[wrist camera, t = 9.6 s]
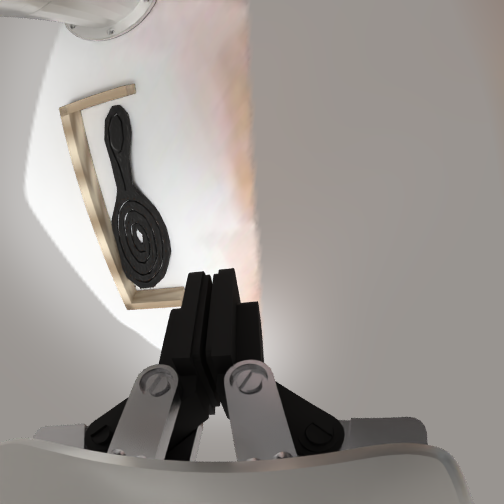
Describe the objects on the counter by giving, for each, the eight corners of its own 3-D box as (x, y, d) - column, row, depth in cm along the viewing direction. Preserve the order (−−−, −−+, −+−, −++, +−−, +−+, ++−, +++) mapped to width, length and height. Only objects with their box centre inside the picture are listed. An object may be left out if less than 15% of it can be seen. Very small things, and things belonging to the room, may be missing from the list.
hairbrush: (142, 100, 29) (172, 291, 41) (151, 99, 32) (177, 276, 45) (78, 114, 29) (118, 292, 41) (91, 110, 32) (126, 278, 45)
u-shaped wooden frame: (70, 104, 30) (58, 107, 28) (134, 83, 30) (125, 85, 27) (132, 297, 47) (127, 309, 44) (185, 292, 46) (182, 306, 44)
